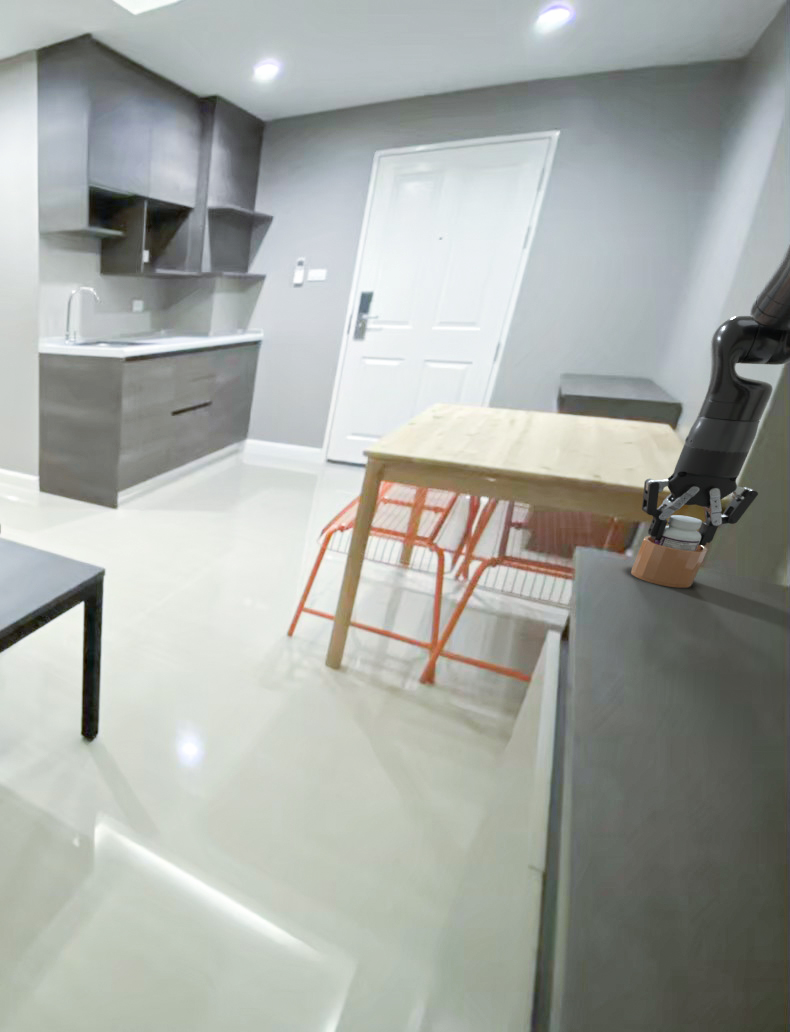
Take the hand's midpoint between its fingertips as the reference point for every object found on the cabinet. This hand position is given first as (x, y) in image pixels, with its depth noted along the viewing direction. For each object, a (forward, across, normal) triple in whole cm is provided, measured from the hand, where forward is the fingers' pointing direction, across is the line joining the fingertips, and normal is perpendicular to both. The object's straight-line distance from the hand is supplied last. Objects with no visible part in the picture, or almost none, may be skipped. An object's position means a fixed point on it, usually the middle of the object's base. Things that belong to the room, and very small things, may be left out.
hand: (677, 541), depth 106 cm
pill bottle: (+6, 0, 0) cm, 6 cm away
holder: (+7, 0, 0) cm, 7 cm away
